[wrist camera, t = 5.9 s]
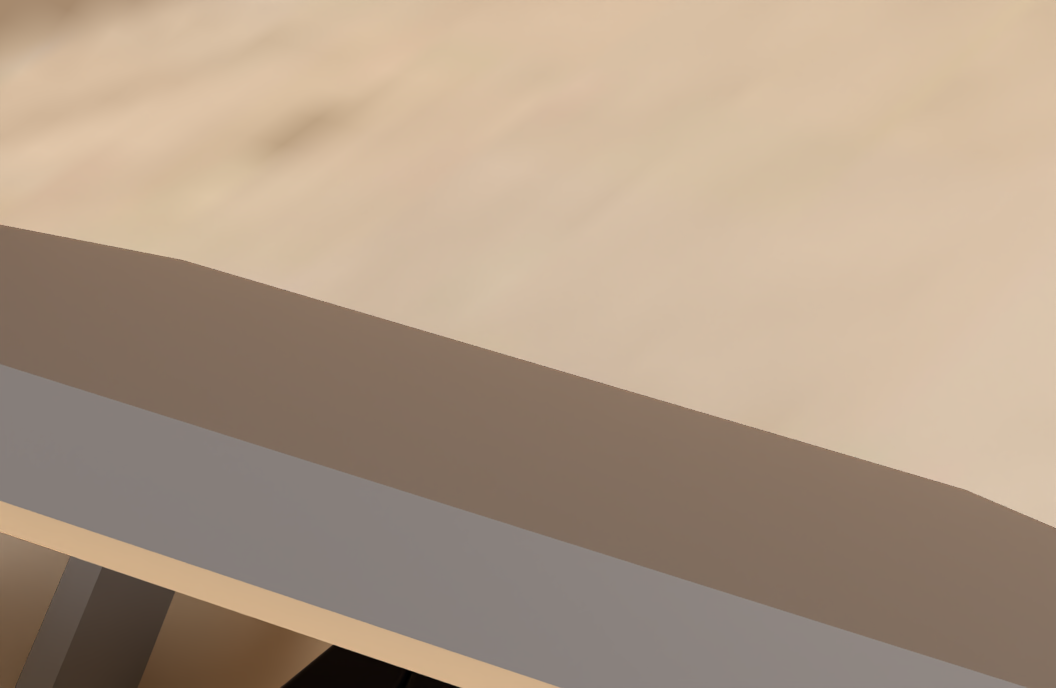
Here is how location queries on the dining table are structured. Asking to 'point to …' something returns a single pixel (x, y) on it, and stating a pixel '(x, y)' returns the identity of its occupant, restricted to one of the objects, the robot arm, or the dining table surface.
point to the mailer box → (155, 639)
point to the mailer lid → (479, 499)
